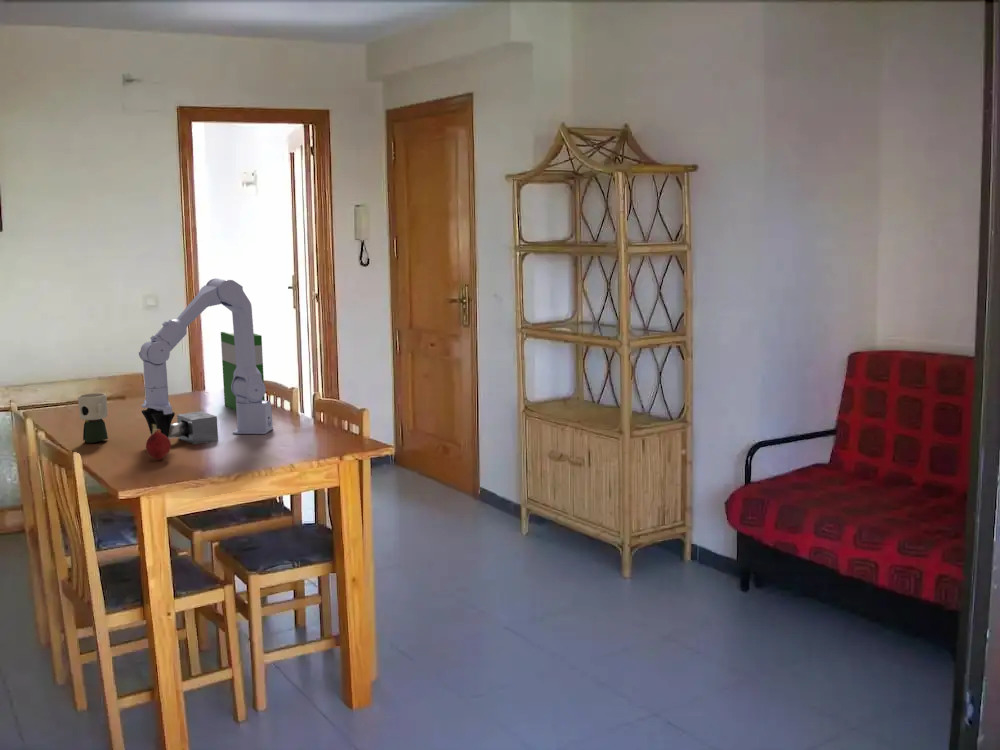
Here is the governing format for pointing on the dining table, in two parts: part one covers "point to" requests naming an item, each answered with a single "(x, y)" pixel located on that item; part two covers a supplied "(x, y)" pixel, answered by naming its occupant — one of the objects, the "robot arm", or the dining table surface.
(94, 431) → the character mug
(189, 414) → the housing
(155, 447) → the onion
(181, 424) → the end cover
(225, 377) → the hardback book
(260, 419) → the robot arm
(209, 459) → the dining table surface
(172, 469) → the dining table surface
